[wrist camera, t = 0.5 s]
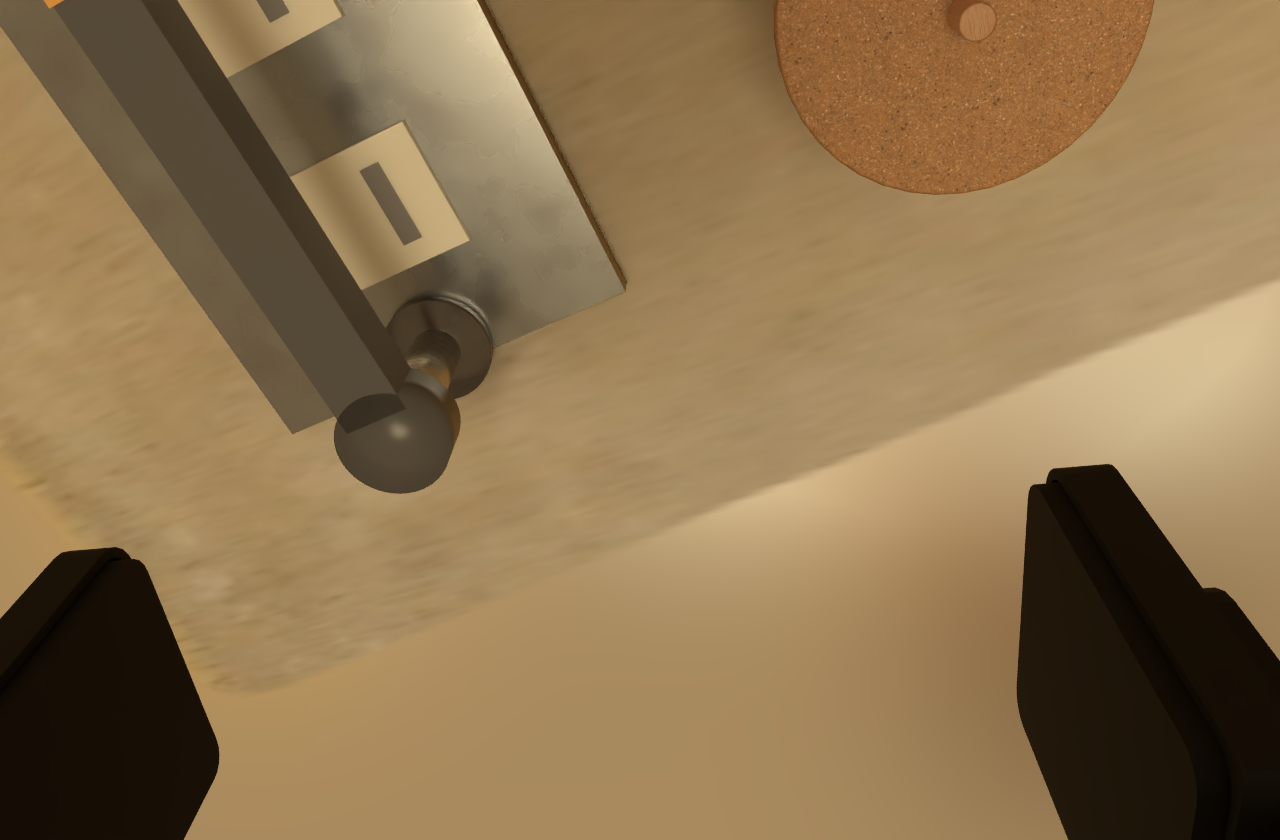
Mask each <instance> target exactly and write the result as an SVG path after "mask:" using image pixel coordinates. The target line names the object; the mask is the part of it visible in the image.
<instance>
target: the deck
mask: <svg viewBox="0 0 1280 840" xmlns="http://www.w3.org/2000/svg"><path fill="white" fill-rule="evenodd" d="M336 1H337V3H338V5H339V6H340V8H341V10H342V12H343V13H344V16H342V17H340V18H338V19H337V20H335V21H333V22H331V23H329V24H327V25H325V26H323V27H322V28H320V29H318V30H316V31H314V32H312V33H310V34H308V35H307V36H305V37H303V38H301V39H299V40H297V41H295V42H294V43H292V44H290V45H288V46H286V47H284V48H282V49H280V50H279V51H277V52H275V53H273V54H271V55H269V56H267V57H266V58H264V59H262V60H260V61H258V62H256V63H254V64H252V65H251V66H249V67H247V68H245V69H243V70H241V71H239V72H237V73H236V74H234V75H232V76H230V77H228V78H227V79H228V81H229V82H230V84H231V86H232V87H233V89H234V90H235V92H236V93H237V95H238V97H239V98H240V100H241V101H242V103H243V104H244V106H245V108H246V109H247V111H248V112H249V114H250V116H251V117H252V119H253V120H254V122H255V123H256V125H257V127H258V128H259V130H260V131H261V133H262V134H263V136H264V138H265V139H266V141H267V142H268V144H269V145H270V147H271V149H272V150H273V152H274V153H275V155H276V157H277V158H278V160H279V161H280V163H281V164H282V166H283V168H284V169H285V171H286V172H287V174H288V175H289V177H290V176H292V175H294V174H296V173H298V172H300V171H302V170H304V169H306V168H308V167H310V166H312V165H314V164H316V163H318V162H320V161H322V160H324V159H326V158H328V157H330V156H332V155H334V154H336V153H338V152H340V151H342V150H344V149H346V148H348V147H350V146H352V145H354V144H356V143H358V142H360V141H362V140H364V139H366V138H368V137H370V136H372V135H374V134H376V133H378V132H380V131H382V130H384V129H386V128H388V127H390V126H392V125H394V124H396V123H398V122H400V121H402V120H404V121H405V123H406V124H407V126H408V128H409V130H410V131H411V133H412V135H413V137H414V138H415V140H416V142H417V144H418V145H419V147H420V149H421V151H422V153H423V154H424V156H425V158H426V160H427V161H428V163H429V165H430V167H431V168H432V170H433V172H434V174H435V175H436V177H437V179H438V181H439V182H440V184H441V186H442V188H443V189H444V191H445V193H446V195H447V197H448V198H449V200H450V202H451V204H452V205H453V207H454V209H455V211H456V212H457V214H458V216H459V218H460V219H461V221H462V223H463V225H464V226H465V228H466V230H467V232H468V233H469V235H470V237H471V239H470V240H469V241H467V242H465V243H463V244H461V245H459V246H456V247H454V248H452V249H450V250H448V251H445V252H443V253H441V254H439V255H437V256H435V257H432V258H430V259H428V260H426V261H424V262H422V263H419V264H417V265H415V266H413V267H411V268H408V269H406V270H404V271H402V272H400V273H398V274H395V275H393V276H391V277H389V278H387V279H384V280H382V281H380V282H378V283H376V284H374V285H371V286H369V287H367V288H365V289H363V290H361V291H362V292H363V294H364V295H365V297H366V298H367V300H368V302H369V303H370V305H371V306H372V308H373V309H374V311H375V313H376V314H377V316H378V317H379V319H380V321H381V322H382V324H383V325H384V327H385V328H386V330H387V332H388V333H389V335H390V336H391V338H392V339H393V341H394V343H395V344H396V346H397V347H398V349H399V350H400V352H401V354H402V355H403V357H404V358H405V360H406V362H407V363H408V365H409V366H410V368H412V369H416V370H419V371H422V372H424V373H427V374H429V375H430V376H432V377H434V378H435V379H437V380H438V381H439V382H441V383H442V384H443V385H444V386H445V387H446V388H447V389H448V390H449V392H450V393H451V394H452V396H453V397H454V399H456V398H459V397H462V396H465V395H467V394H469V393H470V392H472V391H473V390H475V389H476V388H477V387H478V386H479V385H480V384H481V382H482V381H483V380H484V378H485V376H486V374H487V372H488V369H489V367H490V364H491V360H492V355H493V348H495V347H497V346H500V345H502V344H504V343H507V342H509V341H511V340H514V339H516V338H518V337H521V336H523V335H525V334H528V333H530V332H532V331H535V330H537V329H539V328H542V327H544V326H546V325H549V324H551V323H553V322H556V321H558V320H560V319H563V318H565V317H567V316H570V315H572V314H574V313H577V312H579V311H581V310H584V309H586V308H588V307H591V306H593V305H595V304H598V303H600V302H602V301H605V300H607V299H609V298H612V297H614V296H616V295H619V294H621V293H623V292H625V291H626V283H627V282H626V280H625V278H624V276H623V274H622V272H621V270H620V268H619V266H618V264H617V262H616V260H615V258H614V256H613V254H612V252H611V250H610V248H609V246H608V244H607V242H606V241H605V239H604V237H603V235H602V233H601V231H600V229H599V227H598V225H597V223H596V221H595V219H594V217H593V215H592V213H591V211H590V209H589V207H588V205H587V203H586V201H585V199H584V197H583V195H582V193H581V191H580V189H579V187H578V185H577V183H576V181H575V179H574V177H573V175H572V173H571V171H570V169H569V167H568V166H567V164H566V162H565V160H564V158H563V156H562V154H561V152H560V150H559V148H558V146H557V144H556V142H555V140H554V138H553V136H552V134H551V132H550V130H549V128H548V126H547V124H546V122H545V120H544V118H543V116H542V114H541V112H540V110H539V108H538V106H537V104H536V102H535V100H534V98H533V96H532V94H531V92H530V91H529V89H528V87H527V85H526V83H525V81H524V79H523V77H522V75H521V73H520V71H519V69H518V67H517V65H516V63H515V61H514V59H513V57H512V55H511V53H510V51H509V49H508V47H507V45H506V43H505V41H504V39H503V37H502V35H501V33H500V31H499V29H498V27H497V25H496V23H495V21H494V19H493V17H492V15H491V14H490V12H489V10H488V8H487V6H486V4H485V2H484V0H336ZM0 26H1V27H2V29H3V30H4V32H5V33H6V34H7V36H8V37H9V39H10V40H11V41H12V43H13V44H14V46H15V47H16V48H17V50H18V51H19V53H20V54H21V55H22V57H23V58H24V60H25V61H26V62H27V64H28V65H29V67H30V68H31V69H32V71H33V72H34V74H35V75H36V76H37V78H38V79H39V81H40V82H41V83H42V85H43V86H44V88H45V89H46V90H47V92H48V93H49V95H50V96H51V97H52V99H53V100H54V102H55V103H56V104H57V106H58V107H59V109H60V110H61V111H62V113H63V114H64V116H65V117H66V118H67V120H68V121H69V123H70V124H71V125H72V127H73V128H74V130H75V131H76V132H77V134H78V135H79V137H80V138H81V139H82V141H83V142H84V144H85V145H86V146H87V148H88V149H89V150H90V152H91V153H92V155H93V156H94V157H95V159H96V160H97V162H98V163H99V164H100V166H101V167H102V169H103V170H104V171H105V173H106V174H107V176H108V177H109V178H110V180H111V181H112V183H113V184H114V185H115V187H116V188H117V190H118V191H119V192H120V194H121V195H122V197H123V198H124V199H125V201H126V202H127V204H128V205H129V206H130V208H131V209H132V211H133V212H134V213H135V215H136V216H137V218H138V219H139V220H140V222H141V223H142V225H143V226H144V227H145V229H146V230H147V232H148V233H149V234H150V236H151V237H152V239H153V240H154V241H155V243H156V244H157V246H158V247H159V248H160V250H161V251H162V253H163V254H164V255H165V257H166V258H167V260H168V261H169V262H170V264H171V265H172V267H173V268H174V269H175V271H176V272H177V274H178V275H179V276H180V278H181V279H182V280H183V282H184V283H185V285H186V286H187V287H188V289H189V290H190V292H191V293H192V294H193V296H194V297H195V299H196V300H197V301H198V303H199V304H200V306H201V307H202V308H203V310H204V311H205V313H206V314H207V315H208V317H209V318H210V320H211V321H212V322H213V324H214V325H215V327H216V328H217V329H218V331H219V332H220V334H221V335H222V336H223V338H224V339H225V341H226V342H227V343H228V345H229V346H230V348H231V349H232V350H233V352H234V353H235V355H236V356H237V357H238V359H239V360H240V362H241V363H242V364H243V366H244V367H245V369H246V370H247V371H248V373H249V374H250V376H251V377H252V378H253V380H254V381H255V383H256V384H257V385H258V387H259V388H260V390H261V391H262V392H263V394H264V395H265V397H266V398H267V399H268V401H269V402H270V404H271V405H272V406H273V408H274V409H275V410H276V412H277V413H278V415H279V416H280V417H281V419H282V420H283V422H284V423H285V424H286V426H287V427H288V429H289V430H290V431H291V433H292V434H294V433H296V432H299V431H301V430H303V429H306V428H308V427H310V426H313V425H315V424H317V423H320V422H322V421H324V420H327V419H329V418H331V417H334V415H333V413H332V412H331V410H330V409H329V407H328V406H327V404H326V403H325V401H324V400H323V399H322V397H321V396H320V394H319V393H318V391H317V390H316V388H315V387H314V386H313V384H312V383H311V381H310V380H309V378H308V377H307V375H306V374H305V372H304V371H303V370H302V368H301V367H300V365H299V364H298V362H297V361H296V359H295V358H294V356H293V355H292V354H291V352H290V351H289V349H288V348H287V346H286V345H285V343H284V342H283V340H282V339H281V338H280V336H279V335H278V333H277V332H276V330H275V329H274V327H273V326H272V324H271V323H270V322H269V320H268V319H267V317H266V316H265V314H264V313H263V311H262V310H261V308H260V307H259V306H258V304H257V303H256V301H255V300H254V298H253V297H252V295H251V294H250V292H249V291H248V290H247V288H246V287H245V285H244V284H243V282H242V281H241V279H240V278H239V276H238V275H237V274H236V272H235V271H234V269H233V268H232V266H231V265H230V263H229V262H228V260H227V259H226V258H225V256H224V255H223V253H222V252H221V250H220V249H219V247H218V246H217V244H216V243H215V242H214V240H213V239H212V237H211V236H210V234H209V233H208V231H207V230H206V228H205V227H204V226H203V224H202V223H201V221H200V220H199V218H198V217H197V215H196V214H195V212H194V211H193V210H192V208H191V207H190V205H189V204H188V202H187V201H186V199H185V198H184V196H183V195H182V194H181V192H180V191H179V189H178V188H177V186H176V185H175V183H174V182H173V180H172V179H171V178H170V176H169V175H168V173H167V172H166V170H165V169H164V167H163V166H162V164H161V163H160V162H159V160H158V159H157V157H156V156H155V154H154V153H153V151H152V150H151V148H150V147H149V146H148V144H147V143H146V141H145V140H144V138H143V137H142V135H141V134H140V132H139V131H138V130H137V128H136V127H135V125H134V124H133V122H132V121H131V119H130V118H129V116H128V115H127V114H126V112H125V111H124V109H123V108H122V106H121V105H120V103H119V102H118V101H117V99H116V98H115V96H114V95H113V93H112V92H111V90H110V89H109V87H108V86H107V85H106V83H105V82H104V80H103V79H102V77H101V76H100V74H99V73H98V71H97V70H96V69H95V67H94V66H93V64H92V63H91V61H90V60H89V58H88V57H87V55H86V54H85V53H84V51H83V50H82V48H81V47H80V45H79V44H78V42H77V41H76V39H75V38H74V37H73V35H72V34H71V32H70V31H69V29H68V28H67V26H66V25H65V23H64V22H63V21H62V19H61V18H60V16H59V15H58V13H57V12H56V10H55V9H54V8H50V9H49V7H48V6H47V4H46V3H45V2H44V0H0Z"/></svg>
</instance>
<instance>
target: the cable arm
mask: <svg viewBox="0 0 1280 840" xmlns="http://www.w3.org/2000/svg"><path fill="white" fill-rule="evenodd" d="M44 2H45V3H46V4H47V6H48V7H49V9H50V8H54V9H55V10H56V12H57V13H58V15H59V16H60V18H61V19H62V21H63V22H64V23H65V25H66V26H67V28H68V29H69V31H70V32H71V34H72V35H73V37H74V38H75V39H76V41H77V42H78V44H79V45H80V47H81V48H82V50H83V51H84V53H85V54H86V55H87V57H88V58H89V60H90V61H91V63H92V64H93V66H94V67H95V69H96V70H97V71H98V73H99V74H100V76H101V77H102V79H103V80H104V82H105V83H106V85H107V86H108V87H109V89H110V90H111V92H112V93H113V95H114V96H115V98H116V99H117V101H118V102H119V103H120V105H121V106H122V108H123V109H124V111H125V112H126V114H127V115H128V116H129V118H130V119H131V121H132V122H133V124H134V125H135V127H136V128H137V130H138V131H139V132H140V134H141V135H142V137H143V138H144V140H145V141H146V143H147V144H148V146H149V147H150V148H151V150H152V151H153V153H154V154H155V156H156V157H157V159H158V160H159V162H160V163H161V164H162V166H163V167H164V169H165V170H166V172H167V173H168V175H169V176H170V178H171V179H172V180H173V182H174V183H175V185H176V186H177V188H178V189H179V191H180V192H181V194H182V195H183V196H184V198H185V199H186V201H187V202H188V204H189V205H190V207H191V208H192V210H193V211H194V212H195V214H196V215H197V217H198V218H199V220H200V221H201V223H202V224H203V226H204V227H205V228H206V230H207V231H208V233H209V234H210V236H211V237H212V239H213V240H214V242H215V243H216V244H217V246H218V247H219V249H220V250H221V252H222V253H223V255H224V256H225V258H226V259H227V260H228V262H229V263H230V265H231V266H232V268H233V269H234V271H235V272H236V274H237V275H238V276H239V278H240V279H241V281H242V282H243V284H244V285H245V287H246V288H247V290H248V291H249V292H250V294H251V295H252V297H253V298H254V300H255V301H256V303H257V304H258V306H259V307H260V308H261V310H262V311H263V313H264V314H265V316H266V317H267V319H268V320H269V322H270V323H271V324H272V326H273V327H274V329H275V330H276V332H277V333H278V335H279V336H280V338H281V339H282V340H283V342H284V343H285V345H286V346H287V348H288V349H289V351H290V352H291V354H292V355H293V356H294V358H295V359H296V361H297V362H298V364H299V365H300V367H301V368H302V370H303V371H304V372H305V374H306V375H307V377H308V378H309V380H310V381H311V383H312V384H313V386H314V387H315V388H316V390H317V391H318V393H319V394H320V396H321V397H322V399H323V400H324V401H325V403H326V404H327V406H328V407H329V409H330V410H331V412H332V413H333V415H334V416H335V417H336V419H337V422H336V425H335V430H334V443H335V448H336V452H337V454H338V456H339V459H340V460H341V462H342V464H343V465H344V466H345V468H346V469H347V470H348V471H349V472H350V473H351V474H352V475H353V476H354V477H355V478H357V479H358V480H359V481H361V482H362V483H364V484H365V485H367V486H370V487H372V488H374V489H377V490H380V491H384V492H388V493H400V494H401V493H411V492H416V491H419V490H422V489H424V488H426V487H428V486H429V485H431V484H433V483H434V482H435V481H436V480H437V479H438V478H439V477H440V476H441V475H442V473H443V472H444V470H445V468H446V466H447V464H448V461H449V458H450V456H451V453H452V450H453V448H454V445H455V443H456V440H457V437H458V435H459V431H460V423H461V420H460V412H459V408H458V406H457V403H456V401H455V399H454V397H453V396H452V394H451V393H450V392H449V390H448V389H447V388H446V387H445V386H444V385H443V384H442V383H441V382H439V381H438V380H437V379H435V378H434V377H432V376H430V375H429V374H427V373H424V372H422V371H419V370H416V369H412V368H410V366H409V365H408V363H407V362H406V360H405V358H404V357H403V355H402V354H401V352H400V350H399V349H398V347H397V346H396V344H395V343H394V341H393V339H392V338H391V336H390V335H389V333H388V332H387V330H386V328H385V327H384V325H383V324H382V322H381V321H380V319H379V317H378V316H377V314H376V313H375V311H374V309H373V308H372V306H371V305H370V303H369V302H368V300H367V298H366V297H365V295H364V294H363V292H362V291H361V289H360V287H359V286H358V284H357V283H356V281H355V280H354V278H353V276H352V275H351V273H350V272H349V270H348V268H347V267H346V265H345V264H344V262H343V261H342V259H341V257H340V256H339V254H338V253H337V251H336V250H335V248H334V246H333V245H332V243H331V242H330V240H329V239H328V237H327V235H326V234H325V232H324V231H323V229H322V227H321V226H320V224H319V223H318V221H317V220H316V218H315V216H314V215H313V213H312V212H311V210H310V209H309V207H308V205H307V204H306V202H305V201H304V199H303V198H302V196H301V194H300V193H299V191H298V190H297V188H296V186H295V185H294V183H293V182H292V180H291V179H290V177H289V175H288V174H287V172H286V171H285V169H284V168H283V166H282V164H281V163H280V161H279V160H278V158H277V157H276V155H275V153H274V152H273V150H272V149H271V147H270V145H269V144H268V142H267V141H266V139H265V138H264V136H263V134H262V133H261V131H260V130H259V128H258V127H257V125H256V123H255V122H254V120H253V119H252V117H251V116H250V114H249V112H248V111H247V109H246V108H245V106H244V104H243V103H242V101H241V100H240V98H239V97H238V95H237V93H236V92H235V90H234V89H233V87H232V86H231V84H230V82H229V81H228V79H227V78H226V76H225V75H224V73H223V71H222V70H221V68H220V67H219V65H218V63H217V62H216V60H215V59H214V57H213V56H212V54H211V52H210V51H209V49H208V48H207V46H206V45H205V43H204V41H203V40H202V38H201V37H200V35H199V34H198V32H197V30H196V29H195V27H194V26H193V24H192V22H191V21H190V19H189V18H188V16H187V15H186V13H185V11H184V10H183V8H182V7H181V5H180V4H179V2H178V0H44Z"/></svg>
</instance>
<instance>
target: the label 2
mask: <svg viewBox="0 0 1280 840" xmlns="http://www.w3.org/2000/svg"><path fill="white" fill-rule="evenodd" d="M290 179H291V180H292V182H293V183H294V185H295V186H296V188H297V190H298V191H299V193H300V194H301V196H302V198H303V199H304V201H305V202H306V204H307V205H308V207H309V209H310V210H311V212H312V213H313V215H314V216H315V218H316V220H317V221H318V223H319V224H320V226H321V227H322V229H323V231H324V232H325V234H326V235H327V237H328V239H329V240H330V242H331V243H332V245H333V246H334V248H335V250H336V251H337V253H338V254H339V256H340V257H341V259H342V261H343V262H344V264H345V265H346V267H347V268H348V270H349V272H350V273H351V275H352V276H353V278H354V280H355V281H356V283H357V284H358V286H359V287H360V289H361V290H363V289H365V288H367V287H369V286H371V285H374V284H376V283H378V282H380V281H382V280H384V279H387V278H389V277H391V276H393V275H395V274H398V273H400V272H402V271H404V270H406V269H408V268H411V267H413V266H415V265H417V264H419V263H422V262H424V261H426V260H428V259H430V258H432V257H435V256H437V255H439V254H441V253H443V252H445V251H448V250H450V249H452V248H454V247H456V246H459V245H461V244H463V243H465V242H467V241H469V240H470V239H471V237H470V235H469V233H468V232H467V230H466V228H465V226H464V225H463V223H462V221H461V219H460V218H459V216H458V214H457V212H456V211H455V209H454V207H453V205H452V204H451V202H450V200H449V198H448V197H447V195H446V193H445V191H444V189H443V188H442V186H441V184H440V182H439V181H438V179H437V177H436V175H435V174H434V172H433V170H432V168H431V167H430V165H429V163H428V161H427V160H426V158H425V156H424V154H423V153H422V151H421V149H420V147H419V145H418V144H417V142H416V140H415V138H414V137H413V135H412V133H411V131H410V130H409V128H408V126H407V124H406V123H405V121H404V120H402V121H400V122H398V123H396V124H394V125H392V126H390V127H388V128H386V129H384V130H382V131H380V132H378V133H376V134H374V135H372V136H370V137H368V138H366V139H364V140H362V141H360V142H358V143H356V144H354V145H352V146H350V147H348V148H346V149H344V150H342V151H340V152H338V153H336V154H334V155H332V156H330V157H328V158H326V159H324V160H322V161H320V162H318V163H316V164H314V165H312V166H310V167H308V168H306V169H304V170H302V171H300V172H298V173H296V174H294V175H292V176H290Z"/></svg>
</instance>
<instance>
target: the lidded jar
mask: <svg viewBox="0 0 1280 840" xmlns="http://www.w3.org/2000/svg"><path fill="white" fill-rule="evenodd" d="M1153 4H1154V0H774V39H775V45H776V51H777V57H778V63H779V68H780V71H781V74H782V77H783V80H784V83H785V86H786V89H787V92H788V95H789V97H790V99H791V101H792V102H793V104H794V106H795V108H796V110H797V112H798V114H799V116H800V118H801V120H802V121H803V123H804V124H805V125H806V127H807V128H808V129H809V131H810V132H811V133H812V135H813V136H814V137H815V139H816V140H817V141H818V142H819V143H820V144H821V145H822V146H823V147H824V148H825V149H826V150H827V151H828V152H829V153H830V154H831V155H832V156H833V157H835V158H836V159H837V160H838V161H839V162H841V163H842V164H844V165H845V166H847V167H848V168H850V169H851V170H853V171H854V172H856V173H857V174H859V175H861V176H863V177H865V178H868V179H870V180H872V181H874V182H877V183H879V184H881V185H883V186H887V187H891V188H895V189H899V190H903V191H907V192H913V193H923V194H934V195H939V194H957V193H966V192H971V191H976V190H981V189H986V188H991V187H993V186H996V185H999V184H1002V183H1005V182H1007V181H1010V180H1013V179H1016V178H1018V177H1020V176H1022V175H1024V174H1026V173H1028V172H1030V171H1032V170H1034V169H1036V168H1037V167H1039V166H1041V165H1043V164H1045V163H1046V162H1048V161H1049V160H1051V159H1052V158H1053V157H1055V156H1056V155H1058V154H1059V153H1061V152H1062V151H1063V150H1065V149H1066V148H1068V147H1069V146H1070V145H1071V144H1072V143H1073V142H1074V141H1076V140H1077V139H1078V138H1079V137H1080V136H1081V135H1082V134H1083V133H1084V132H1085V131H1086V130H1087V129H1089V128H1090V127H1091V126H1092V125H1093V123H1094V122H1095V121H1096V120H1097V119H1098V118H1099V116H1100V115H1101V114H1102V113H1103V112H1104V110H1105V109H1106V108H1107V107H1108V106H1109V104H1110V103H1111V102H1112V101H1113V99H1114V97H1115V96H1116V94H1117V93H1118V91H1119V90H1120V88H1121V86H1122V85H1123V83H1124V82H1125V80H1126V79H1127V77H1128V75H1129V74H1130V71H1131V69H1132V67H1133V65H1134V63H1135V61H1136V58H1137V56H1138V54H1139V52H1140V50H1141V48H1142V45H1143V42H1144V39H1145V36H1146V32H1147V29H1148V26H1149V22H1150V19H1151V16H1152V10H1153Z"/></svg>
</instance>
